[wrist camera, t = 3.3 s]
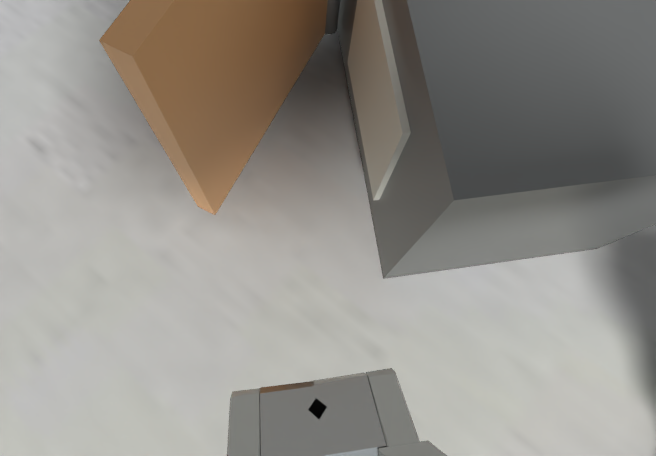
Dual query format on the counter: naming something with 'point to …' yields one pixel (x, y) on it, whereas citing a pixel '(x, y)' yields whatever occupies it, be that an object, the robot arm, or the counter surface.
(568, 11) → the camera box
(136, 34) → the side door
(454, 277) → the counter surface
